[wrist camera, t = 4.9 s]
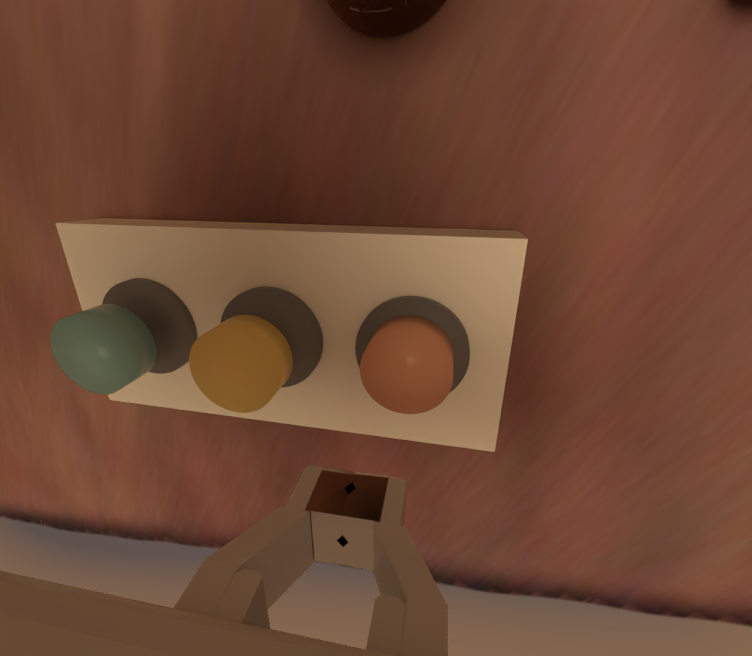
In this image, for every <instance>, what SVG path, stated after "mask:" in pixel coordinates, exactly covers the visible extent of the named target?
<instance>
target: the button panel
mask: <svg viewBox="0 0 752 656" xmlns="http://www.w3.org/2000/svg"><path fill="white" fill-rule="evenodd" d="M56 227H57V230H58V233H59V236H60V240H61V243H62V246H63V250H64V253H65V256H66V259H67V263H68V266H69V269H70V272H71V276H72V279H73V282H74V285H75V289H76V292H77V295H78V298H79V302H80V305H81V308H82V311H85V310H87V309H90V308H93V307H96V306H99V305H102V304H115V305H119V306H122V307H124V308H126V309H128V310H130V311H131V312H133V313H134V314H135V315H136V316H138V317H139V318H140V319H141V320H142V321H143V323H144V324H145V325H146V326H147V328H148V329H149V331H150V333H151V335H152V337H153V339H154V342H155V346H156V360H155V363H154V366H153V367H152V369H151V370H150V371H149V372H147V373H146V374H144V375H143V376H141V377H139V378H138V379H136V380H135V381H133V382H131V383H130V384H128V385H127V386H125V387H123V388H122V389H120V390H119V391H117V392H115V393H112V394H108V396H109V399H110V400H115V401H122V402H129V403H137V404H144V405H152V406H159V407H166V408H174V409H181V410H189V411H196V412H203V413H211V414H218V415H226V416H233V417H240V418H248V419H255V420H263V421H270V422H277V423H285V424H292V425H299V426H307V427H314V428H322V429H329V430H336V431H344V432H351V433H359V434H366V435H373V436H381V437H388V438H396V439H403V440H410V441H418V442H425V443H433V444H440V445H447V446H455V447H462V448H470V449H477V450H484V451H492V452H495V447H496V440H497V434H498V428H499V421H500V415H501V408H502V402H503V396H504V389H505V383H506V376H507V370H508V363H509V357H510V351H511V344H512V338H513V331H514V325H515V319H516V312H517V306H518V299H519V293H520V287H521V280H522V274H523V267H524V261H525V255H526V248H527V242H528V239H527V238H526V237H525V236H524V235H523V234H521V233H520V232H519V231H513V230H480V229H447V228H414V227H381V226H348V225H315V224H282V223H248V222H215V221H182V220H149V219H116V218H96V219H87V220H78V221H69V222H60V223H56ZM237 315H253V316H257V317H260V318H262V319H264V320H266V321H268V322H270V323H271V324H272V325H274V326H275V327H276V328H277V329H278V330H279V331H280V332H281V333H282V334H283V336H284V337H285V338H286V340H287V342H288V344H289V346H290V348H291V352H292V357H293V367H292V371H291V374H290V376H289V378H288V380H287V381H286V382H285V383H284V385H283V386H282V387H281V388H280V389H279V390H278V392H277V393H276V394H275V395H274V396H273V398H272V399H271V400H270V401H269V402H268V403H267V404H266V405H265V406H264V407H263V408H261V409H259V410H257V411H254V412H249V413H237V412H232V411H229V410H226V409H224V408H222V407H220V406H218V405H216V404H215V403H213V402H212V401H211V400H209V399H208V398H207V397H206V396H205V395H204V394H203V393H202V392H201V390H200V389H199V388H198V386H197V385H196V383H195V381H194V379H193V377H192V374H191V371H190V366H189V355H190V351H191V348H192V346H193V344H194V342H195V341H196V340H197V339H198V338H199V337H200V336H201V335H203V334H204V333H206V332H207V331H209V330H211V329H212V328H214V327H216V326H217V325H219V324H220V323H222V322H224V321H225V320H227V319H229V318H231V317H233V316H237ZM401 316H416V317H421V318H424V319H427V320H429V321H431V322H433V323H435V324H436V325H437V326H439V327H440V328H441V329H442V330H443V331H444V332H445V334H446V335H447V336H448V338H449V340H450V342H451V344H452V348H453V353H454V367H453V384H452V387H451V390H450V392H449V394H448V396H447V397H446V398H445V400H444V401H443V402H442V403H441V404H439V405H438V406H437V407H435V408H433V409H432V410H429V411H427V412H423V413H419V414H402V413H397V412H393V411H391V410H388V409H386V408H384V407H383V406H381V405H380V404H378V403H377V402H376V401H375V400H373V399H372V398H371V396H370V395H369V394H368V393H367V391H366V389H365V388H364V386H363V383H362V380H361V376H360V363H361V358H362V356H363V353H364V352H365V350H366V348H367V346H368V344H369V342H370V340H371V338H372V337H373V335H374V333H375V332H376V330H377V329H378V328H379V327H380V326H381V325H383V324H384V323H385V322H387V321H389V320H391V319H394V318H397V317H401Z"/></svg>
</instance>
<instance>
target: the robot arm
mask: <svg viewBox="0 0 752 656" xmlns="http://www.w3.org/2000/svg"><path fill="white" fill-rule="evenodd" d="M406 489H407V479H406V478H401V477H393V476H390V477H389V476H384V475H376V474H368V473H361V472H352V471H346V470H340V469H334V468H328V467H319V466H313V465H308V466H307V467H306V468H305V469H304V471H303V473H302V475H301V477H300V479H299V481H298V483H297V485H296V487H295V490H294V492H293V494H292V496H291V498H290V500H289V502H288V504H287V506H286V508H284V507H280V508H279V509H277V510H276V511H274V512H273V513H271V514H270V515H268V516H267V517H266V518H264V519H263V520H261V521H260V522H258V523H257V524H255V525H254V526H252V527H251V528H249V529H248V530H247V531H245V532H244V533H242V534H241V535H239V536H238V537H236V538H235V539H233V540H232V541H230V542H229V543H228V544H226V545H225V546H223V547H222V548H220V549H219V550H217V551H216V552H214V553H213V554H212V555H210V556H209V557H207V558H206V559H205V560H204V561H203V563H202V564H201V566H200V567H199V569H198V571H197V572H196V574H195V575H194V577H193V579H192V580H191V582H190V583H189V585H188V586H187V588H186V589H185V591H184V593H183V594H182V596H181V597H180V599H179V600H178V602H177V604H176V605H175V607H174V608H170V607H165V606H160V605H155V604H151V603H146V602H141V601H137V600H132V599H128V598H122V597H118V596H114V595H109V594H104V593H100V592H95V591H90V590H86V589H81V588H77V587H72V586H67V585H63V584H58V583H53V582H49V581H44V580H39V579H35V578H30V577H26V576H21V575H16V574H12V573H7V572H2V571H0V656H448V638H447V637H448V631H447V630H448V620H447V617H448V611H447V609H448V607H447V604H446V602H445V600H444V598H443V596H442V594H441V593H440V590H439V589H438V587H437V585H436V583H435V581H434V579H433V577H432V575H431V574H430V572H429V570H428V568H427V566H426V564H425V562H424V560H423V559H422V557H421V555H420V553H419V551H418V549H417V547H416V545H415V543H414V542H413V540H412V538H411V536H410V534H409V532H408V530H407V528H406V527H404V521H405V507H406ZM313 560H314V561H321V562H328V563H335V564H341V565H347V566H351V567H356V568H361V569H366V570H370V571H373V573H374V576H375V579H376V582H377V585H378V588H379V591H380V594H381V595H380V596H379V597H377V598H376V599H375V604H374V609H373V615H372V620H371V625H370V631H369V636H368V642H367V647H366V650H365V649H361V648H356V647H351V646H346V645H342V644H337V643H332V642H328V641H323V640H318V639H314V638H309V637H304V636H300V635H295V634H290V633H286V632H281V631H277V630H272V629H270V623H269V617H268V611H267V610H268V609H269V608H270V607H271V606H272V605H273V604H274V603H275V602H276V601H277V599H279V597H280V596H281V595H282V594H283V593H284V592H285V591H286V590H287V589H288V588H289V587H290V586H291V585H292V584H293V583H294V582H295V581H296V580H297V579H298V578H299V577H300V576H301V575H302V574H303V573H304V571H306V570H307V569H308V567H310V566H311V565H312V564H313Z"/></svg>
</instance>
